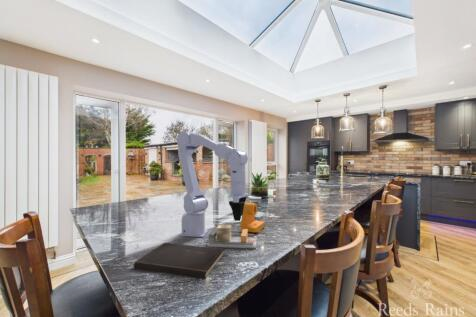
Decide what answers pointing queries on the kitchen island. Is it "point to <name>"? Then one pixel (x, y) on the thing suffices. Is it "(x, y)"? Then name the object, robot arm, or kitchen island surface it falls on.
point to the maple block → (224, 233)
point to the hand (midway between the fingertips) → (238, 217)
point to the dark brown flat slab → (180, 260)
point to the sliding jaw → (244, 235)
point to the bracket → (251, 218)
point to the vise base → (231, 241)
